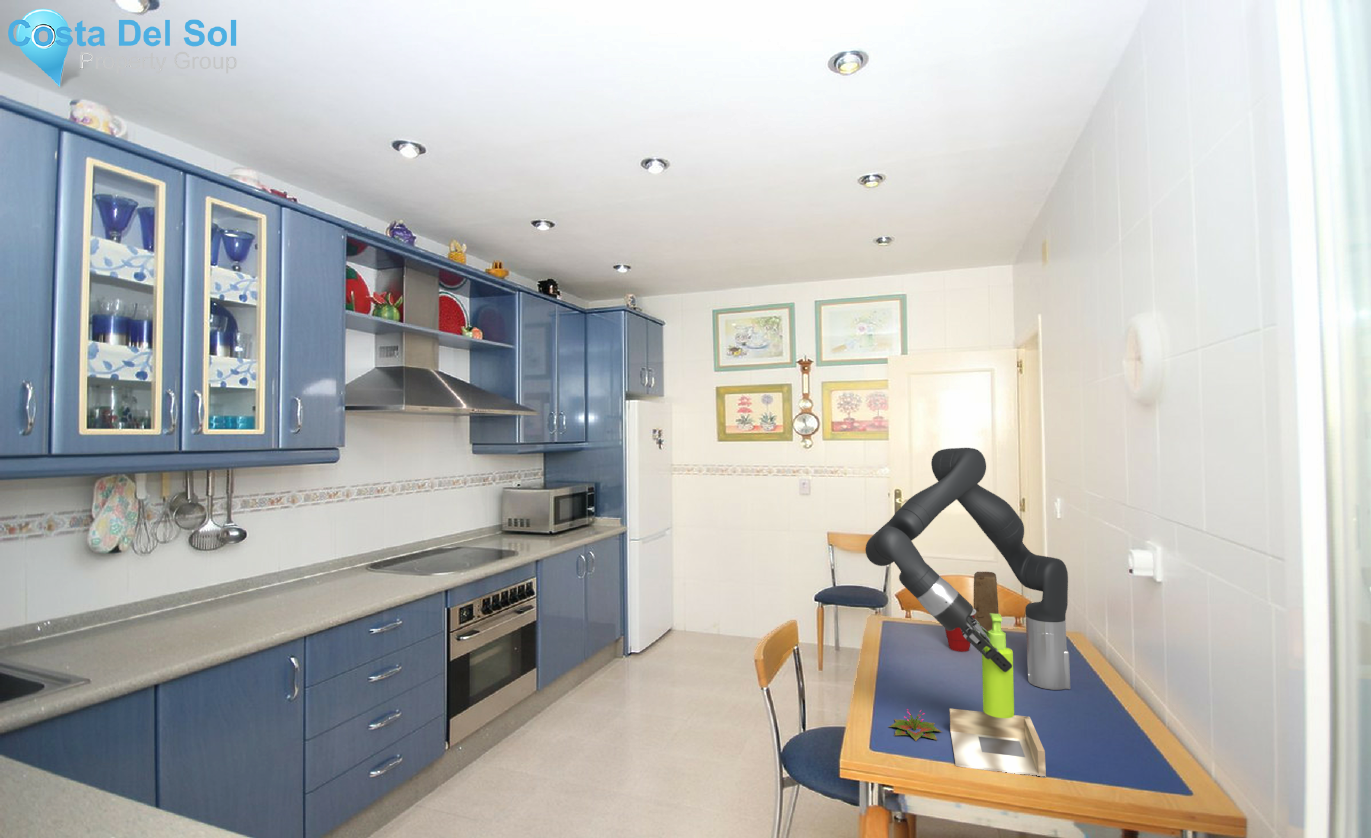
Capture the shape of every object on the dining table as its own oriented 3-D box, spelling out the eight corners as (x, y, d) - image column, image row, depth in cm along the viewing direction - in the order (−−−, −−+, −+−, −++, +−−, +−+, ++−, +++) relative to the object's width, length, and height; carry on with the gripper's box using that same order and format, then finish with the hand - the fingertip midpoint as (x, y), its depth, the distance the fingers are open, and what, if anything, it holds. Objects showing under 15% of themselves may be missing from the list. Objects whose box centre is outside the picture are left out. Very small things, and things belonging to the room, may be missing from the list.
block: (999, 640, 207) (997, 577, 207) (974, 637, 210) (971, 575, 210) (999, 630, 216) (997, 570, 217) (975, 628, 220) (973, 568, 220)
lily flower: (886, 741, 141) (886, 719, 142) (887, 718, 153) (886, 698, 153) (945, 747, 138) (944, 725, 138) (941, 723, 149) (940, 703, 149)
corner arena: (1030, 740, 139) (1029, 716, 139) (1045, 777, 124) (1044, 751, 124) (950, 731, 144) (949, 708, 145) (955, 766, 129) (954, 740, 129)
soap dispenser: (1011, 707, 139) (1009, 612, 140) (1016, 720, 132) (1014, 620, 133) (981, 703, 140) (979, 610, 141) (984, 716, 134) (982, 618, 135)
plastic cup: (935, 642, 205) (934, 604, 206) (971, 643, 204) (970, 605, 204) (944, 654, 195) (943, 613, 195) (982, 655, 193) (981, 614, 194)
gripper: (959, 599, 132) (1026, 663, 128) (954, 583, 146) (1014, 641, 142) (932, 623, 134) (997, 688, 130) (930, 605, 147) (988, 663, 143)
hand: (1006, 663), depth 136 cm, fingers closed on soap dispenser, 6 cm apart
